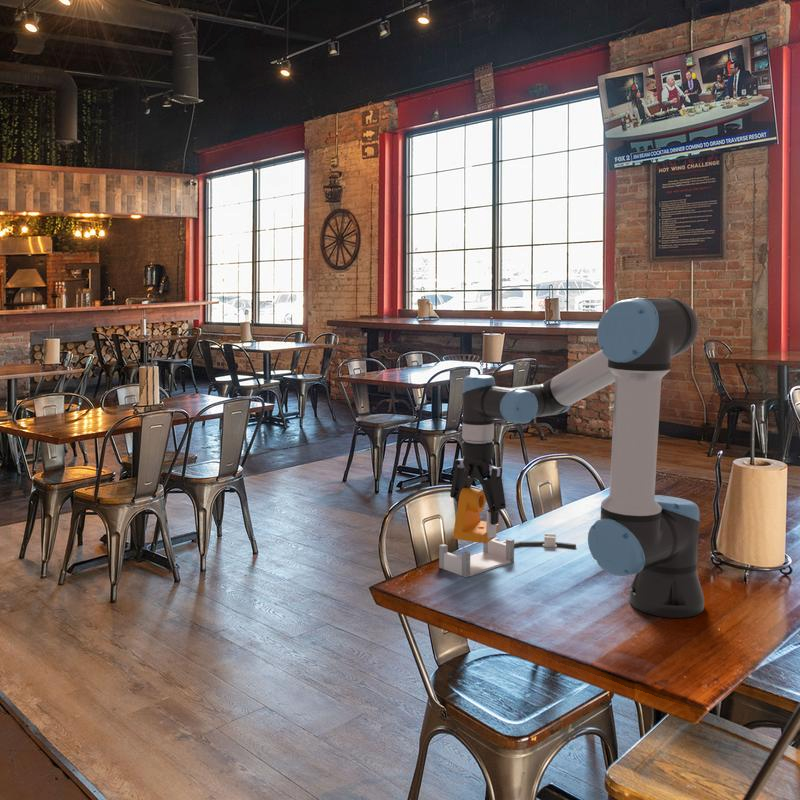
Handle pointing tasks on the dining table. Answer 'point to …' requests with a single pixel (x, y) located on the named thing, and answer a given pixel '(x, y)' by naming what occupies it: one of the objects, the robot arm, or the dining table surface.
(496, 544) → the holder
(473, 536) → the bracket
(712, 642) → the dining table surface
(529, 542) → the cable route
